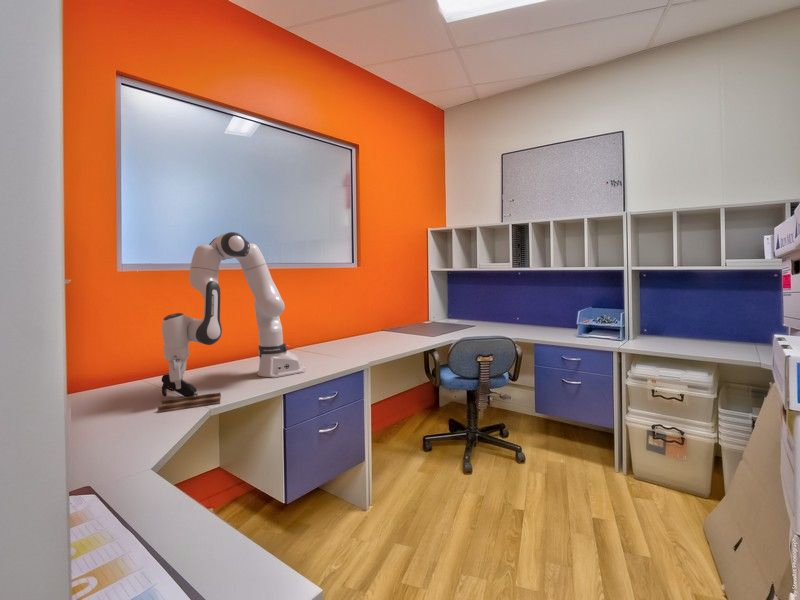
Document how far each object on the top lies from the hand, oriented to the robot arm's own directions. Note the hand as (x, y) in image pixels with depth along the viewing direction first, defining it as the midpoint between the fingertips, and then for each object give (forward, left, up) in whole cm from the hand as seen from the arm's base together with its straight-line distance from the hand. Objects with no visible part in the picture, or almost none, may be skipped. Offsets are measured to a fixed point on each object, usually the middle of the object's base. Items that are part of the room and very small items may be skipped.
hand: (179, 386), depth 161 cm
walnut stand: (-5, +12, -4) cm, 14 cm away
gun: (0, 0, -4) cm, 4 cm away
